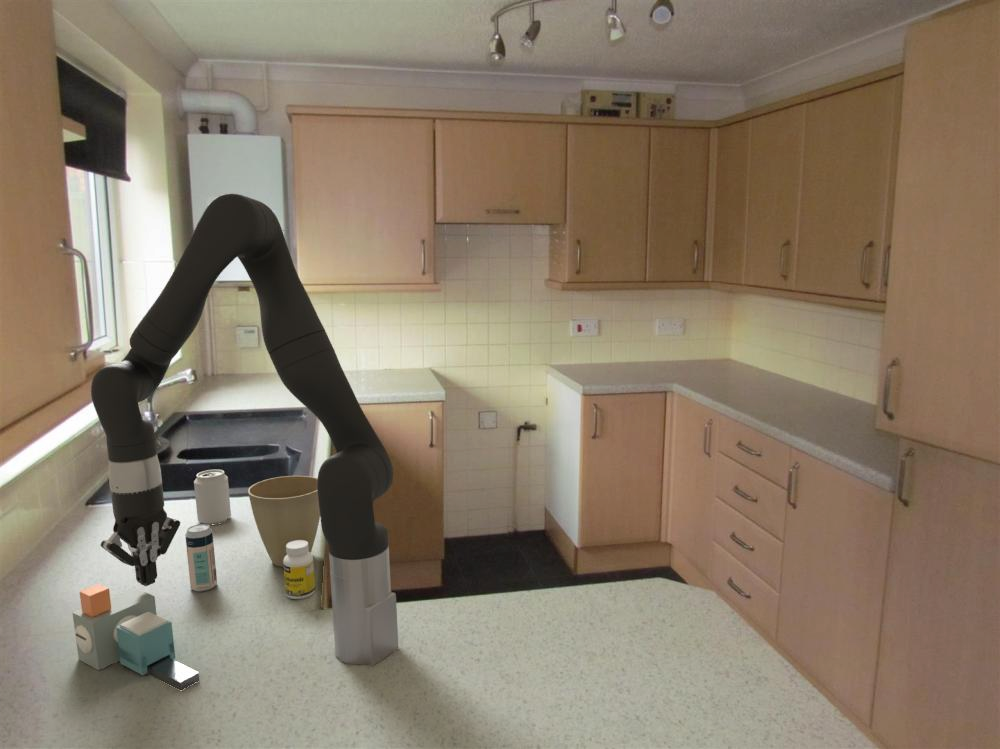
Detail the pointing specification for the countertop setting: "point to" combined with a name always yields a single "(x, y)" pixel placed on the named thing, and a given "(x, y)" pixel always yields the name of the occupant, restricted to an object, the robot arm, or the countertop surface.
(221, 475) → the can
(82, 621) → the cabinet
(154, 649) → the box
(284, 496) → the plant pot
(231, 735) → the countertop surface
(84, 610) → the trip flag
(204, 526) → the beer can
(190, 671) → the rail
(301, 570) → the supplement bottle
